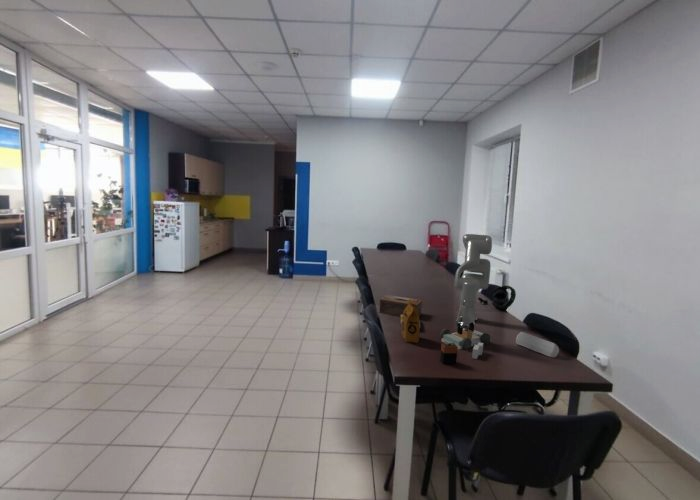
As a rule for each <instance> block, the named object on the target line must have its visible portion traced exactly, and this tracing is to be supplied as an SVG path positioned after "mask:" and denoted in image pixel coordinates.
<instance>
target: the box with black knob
mask: <svg viewBox="0 0 700 500" xmlns="http://www.w3.org/2000/svg"><path fill="white" fill-rule="evenodd" d="M472 333H473V332H472V331H470V330H468V329H467V328H463V332H462V335H460V334H458V337H460V338H463V339H464V338H469V339H472Z"/></svg>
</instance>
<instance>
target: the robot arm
mask: <svg viewBox="0 0 700 500" xmlns="http://www.w3.org/2000/svg"><path fill="white" fill-rule="evenodd" d="M462 243H463V246H464V248H465V255H464V262H463V263H462V264H460V265H459V266H458V268H457V269H456V271H455V276H454V282H453V283H454V285H453V286H454V289H455V290H457V291H461V294H460V295H461V296H460V305H459V309H458V313H457V316H456V319H455V325H456V327H457V330H456V332H457V333H458V334H460V335H462V332H463V328H462V327H463V325H468V328H469V330H470V331H472V332H474V330H475V325H476V323H477V320H478V316H479V312H476V302H477V301H476V300H477V292H479V291H480V290H486V289H488V288H489V285H490V284H489V283H490V277H491V276H490V275H491V267H492V266H491V261H490V260H489V259H486V258H481V255H489V254H491V252H492V248H493V238H492V237H491V236H490V235H487V234H486V235H485V234H474V233H466V234H464V235H463V236H462ZM465 271H466V273H463V272H465ZM462 273H463V274H462ZM461 274H462V275H461Z"/></svg>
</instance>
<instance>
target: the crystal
mask: <svg viewBox="0 0 700 500" xmlns="http://www.w3.org/2000/svg"><path fill="white" fill-rule="evenodd" d="M515 344H516V345H519V346H522V347H524V348H525V349H526V348H527V349H528V350H532V351H533V352H536V353H540V354H542V355H544V356H547V357H550V358H556V357H558V354H559V352H560V349H559V346H558V345H557V344H556V343H555V342H552V341H548V340H546V339H543V338H540V337H537V336H534V335H532V334H529V333H526V332H523V331H520V332H519V333H518V334H517V336H516V338H515Z"/></svg>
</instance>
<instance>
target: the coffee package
mask: <svg viewBox="0 0 700 500" xmlns="http://www.w3.org/2000/svg"><path fill="white" fill-rule="evenodd" d="M411 299H412V298H411ZM411 299H409V300H408V302H409V304H408V305H407V307H406V308H405V310H404V312H403V320H402V328H401V336H402V338H403V339H404V340H405V342H406V343H415V344H417V343H419V340H420V330H421V322H419V320H420V315H419V316H418V313H417V310H416V307H415V302H414V301H413V300H411Z"/></svg>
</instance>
